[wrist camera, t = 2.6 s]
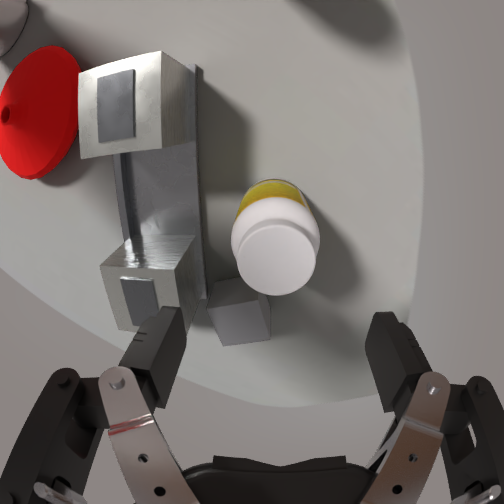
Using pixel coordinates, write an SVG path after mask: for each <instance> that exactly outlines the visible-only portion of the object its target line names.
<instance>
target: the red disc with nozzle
mask: <svg viewBox="0 0 504 504" xmlns="http://www.w3.org/2000/svg"><path fill="white" fill-rule="evenodd" d="M79 73H81V69H80V67H79V65H78V63H77V61H76V59H75V58H74V57H73V56H72V55H71V54H70V53H68V52H67V51H66V50H65V49H64V48H62V47H58V46H53V45H51V46H46V47H41V48H39V49H37V50H36V51H34V52H32V53H31V54H29V55H28V56H27V57H25V58H24V59H23V60H22V61H21V62H20V63H19V64H18V65H17V66H16V67H15V69H14V70H13V72H12V73H11V75H10V76H9V78H8V79H7V81H6V83H5V86H4V88H3V90H2V92H1V96H0V154H1V157H2V159H3V161H4V162H5V164H6V165H7V166H8V168H9V169H10V170H11V171H12V172H14V173H15V174H17V175H18V176H20V177H21V178H25V179H30V180H32V179H36V178H41V177H42V176H44V175H45V174H47V173H48V172H50V171H51V170H53V169H54V168H55V167H56V166H57V165H58V164H59V162H60V161H61V160H62V159H63V158H64V157H65V155H66V154H67V152H68V151H69V149H70V147H71V145H72V143H73V142H74V140H75V137H76V134H77V131H78V128H79V122H78V83H79Z"/></svg>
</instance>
